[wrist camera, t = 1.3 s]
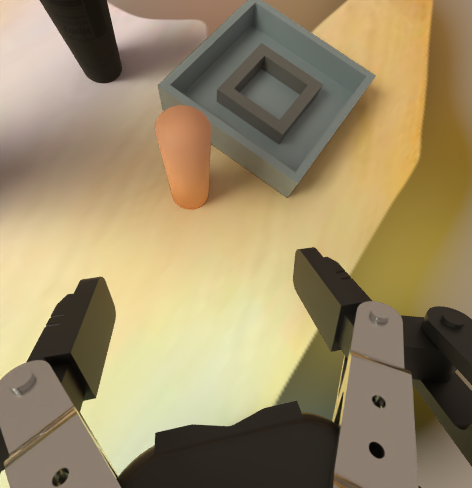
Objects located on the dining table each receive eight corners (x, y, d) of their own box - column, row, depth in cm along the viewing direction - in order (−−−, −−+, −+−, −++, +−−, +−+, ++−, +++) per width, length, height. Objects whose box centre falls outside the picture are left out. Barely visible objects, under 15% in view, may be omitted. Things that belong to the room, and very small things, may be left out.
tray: (162, 109, 36) (157, 85, 32) (248, 24, 41) (253, -6, 37) (287, 198, 34) (298, 183, 31) (359, 98, 40) (375, 75, 36)
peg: (164, 195, 33) (143, 131, 21) (187, 169, 34) (178, 95, 22) (193, 216, 32) (188, 163, 21) (215, 189, 34) (221, 125, 22)
